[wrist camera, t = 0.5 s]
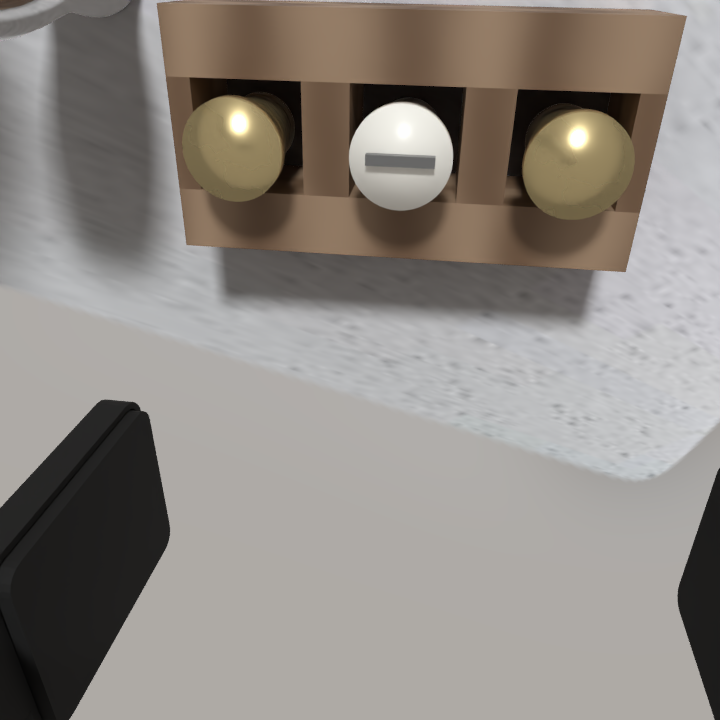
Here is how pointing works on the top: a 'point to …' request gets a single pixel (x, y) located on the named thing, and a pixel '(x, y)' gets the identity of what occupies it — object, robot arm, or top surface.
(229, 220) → the block
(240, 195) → the brass knob
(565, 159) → the brass knob
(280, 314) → the top surface
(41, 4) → the beer glass
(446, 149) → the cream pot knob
